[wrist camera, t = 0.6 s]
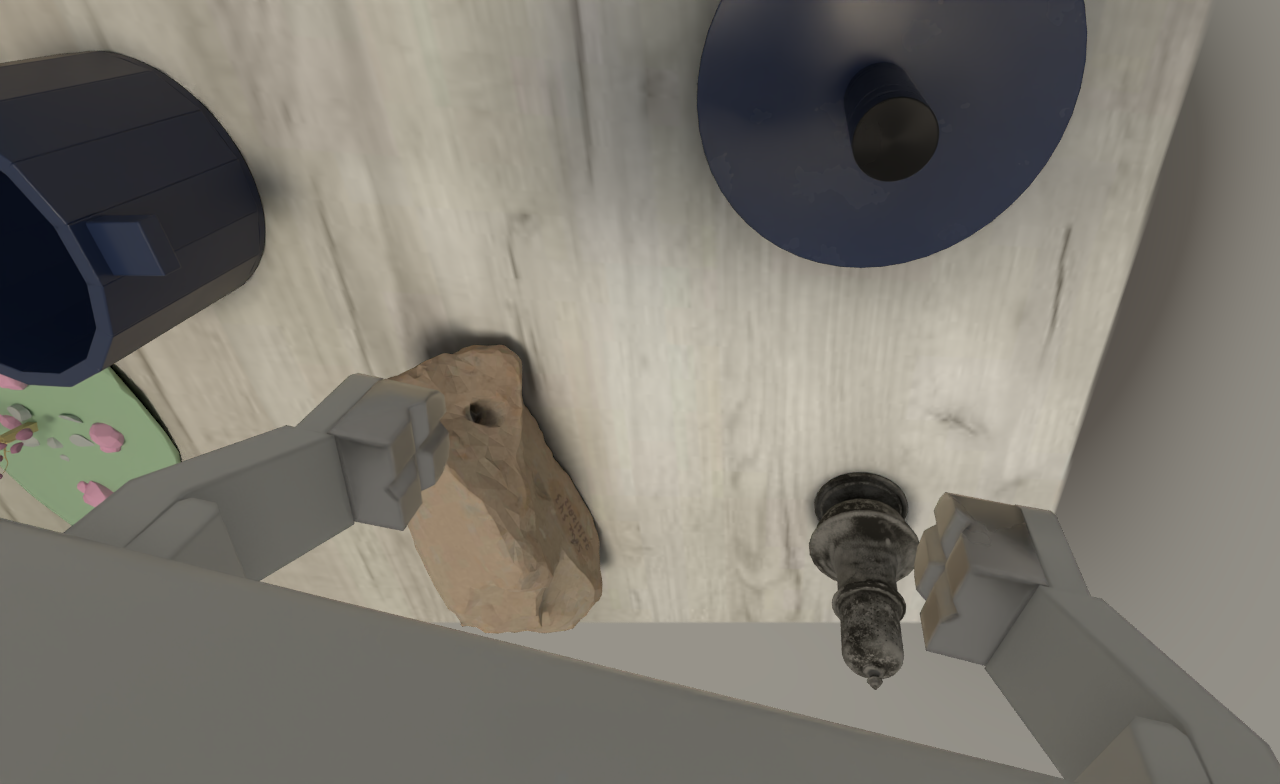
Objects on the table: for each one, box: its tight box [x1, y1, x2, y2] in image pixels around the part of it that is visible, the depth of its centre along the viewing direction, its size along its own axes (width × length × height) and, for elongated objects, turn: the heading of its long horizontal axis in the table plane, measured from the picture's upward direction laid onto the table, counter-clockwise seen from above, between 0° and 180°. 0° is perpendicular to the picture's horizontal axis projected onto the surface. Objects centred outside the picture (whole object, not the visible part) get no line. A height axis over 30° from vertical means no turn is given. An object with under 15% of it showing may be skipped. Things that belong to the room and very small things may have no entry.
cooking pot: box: [0, 51, 265, 387], centre depth 34 cm, size 14×19×10 cm
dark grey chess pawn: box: [809, 473, 919, 690], centre depth 35 cm, size 6×6×12 cm
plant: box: [0, 366, 181, 525], centre depth 49 cm, size 25×21×9 cm
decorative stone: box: [388, 345, 602, 633], centre depth 40 cm, size 20×8×10 cm, turn 20°
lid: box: [697, 0, 1087, 268], centre depth 25 cm, size 15×15×8 cm
